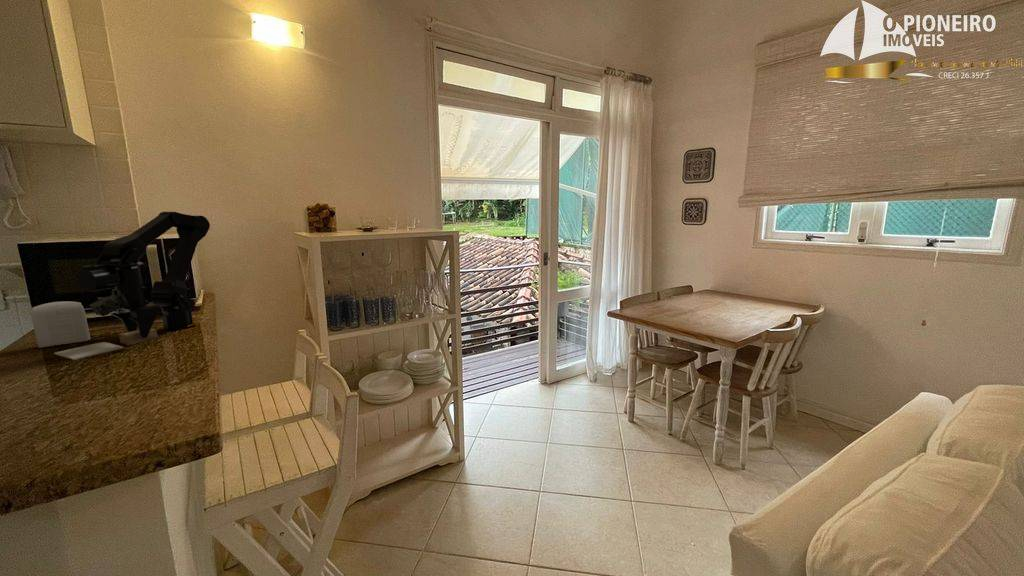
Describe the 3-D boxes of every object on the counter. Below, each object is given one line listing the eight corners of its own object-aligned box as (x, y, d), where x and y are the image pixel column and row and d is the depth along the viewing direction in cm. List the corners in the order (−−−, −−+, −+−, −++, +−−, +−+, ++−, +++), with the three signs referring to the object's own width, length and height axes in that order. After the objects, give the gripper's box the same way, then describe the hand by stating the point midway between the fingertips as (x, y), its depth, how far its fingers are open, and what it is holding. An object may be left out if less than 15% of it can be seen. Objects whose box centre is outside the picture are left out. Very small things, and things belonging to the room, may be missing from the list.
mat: (103, 342, 115) (103, 341, 115) (123, 348, 111) (123, 346, 111) (54, 354, 106) (54, 352, 106) (74, 360, 102) (73, 358, 102)
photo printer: (91, 337, 120) (82, 298, 117) (90, 341, 117) (81, 300, 114) (39, 345, 113) (29, 303, 110) (37, 349, 110) (26, 306, 107)
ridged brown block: (150, 336, 122) (148, 326, 121) (158, 338, 120) (156, 328, 119) (120, 343, 115) (118, 333, 115) (128, 345, 114) (126, 335, 113)
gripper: (74, 287, 111) (86, 340, 114) (108, 292, 103) (120, 349, 106) (125, 280, 121) (134, 329, 124) (159, 285, 113) (169, 337, 116)
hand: (138, 336), depth 117 cm, fingers open, 6 cm apart
